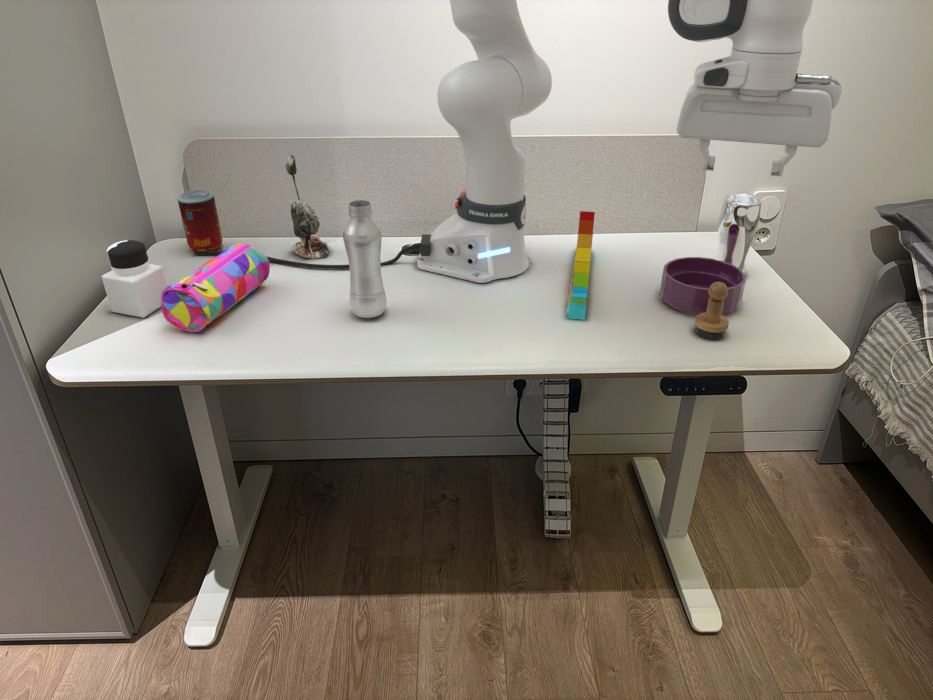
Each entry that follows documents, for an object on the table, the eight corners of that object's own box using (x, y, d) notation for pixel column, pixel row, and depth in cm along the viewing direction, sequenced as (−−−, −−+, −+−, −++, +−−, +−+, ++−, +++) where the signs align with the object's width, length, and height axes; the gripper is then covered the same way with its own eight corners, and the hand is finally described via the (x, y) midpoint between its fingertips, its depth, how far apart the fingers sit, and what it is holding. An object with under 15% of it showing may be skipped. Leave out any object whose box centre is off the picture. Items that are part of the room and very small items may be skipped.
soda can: (188, 246, 149) (176, 190, 143) (222, 241, 151) (212, 186, 145) (189, 258, 143) (177, 200, 137) (225, 253, 145) (214, 196, 139)
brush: (694, 323, 119) (703, 274, 114) (726, 328, 117) (736, 278, 113) (692, 338, 114) (702, 287, 110) (725, 343, 113) (737, 291, 108)
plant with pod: (285, 264, 141) (271, 166, 130) (297, 243, 150) (284, 150, 140) (325, 264, 141) (314, 166, 130) (334, 242, 150) (324, 149, 140)
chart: (575, 251, 146) (581, 181, 138) (590, 252, 146) (597, 181, 138) (566, 318, 120) (572, 237, 113) (584, 320, 120) (592, 238, 112)
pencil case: (209, 341, 114) (198, 291, 109) (160, 333, 116) (148, 284, 112) (276, 285, 132) (269, 241, 127) (233, 280, 134) (225, 235, 130)
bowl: (656, 312, 123) (660, 283, 120) (662, 279, 134) (666, 253, 131) (740, 323, 119) (746, 294, 116) (739, 289, 130) (745, 262, 127)
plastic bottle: (358, 325, 118) (347, 213, 108) (345, 309, 124) (333, 200, 113) (393, 317, 121) (386, 206, 111) (379, 302, 126) (371, 194, 116)
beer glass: (749, 282, 133) (766, 206, 125) (711, 279, 134) (725, 203, 126) (744, 267, 139) (760, 194, 131) (707, 264, 140) (721, 192, 132)
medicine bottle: (171, 301, 127) (156, 239, 120) (143, 318, 121) (126, 254, 115) (139, 295, 129) (123, 234, 122) (110, 312, 123) (92, 249, 117)
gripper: (842, 72, 95) (816, 172, 102) (686, 65, 100) (672, 160, 107) (848, 80, 90) (820, 185, 97) (684, 72, 95) (669, 172, 102)
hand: (741, 172), depth 102 cm, fingers open, 8 cm apart
